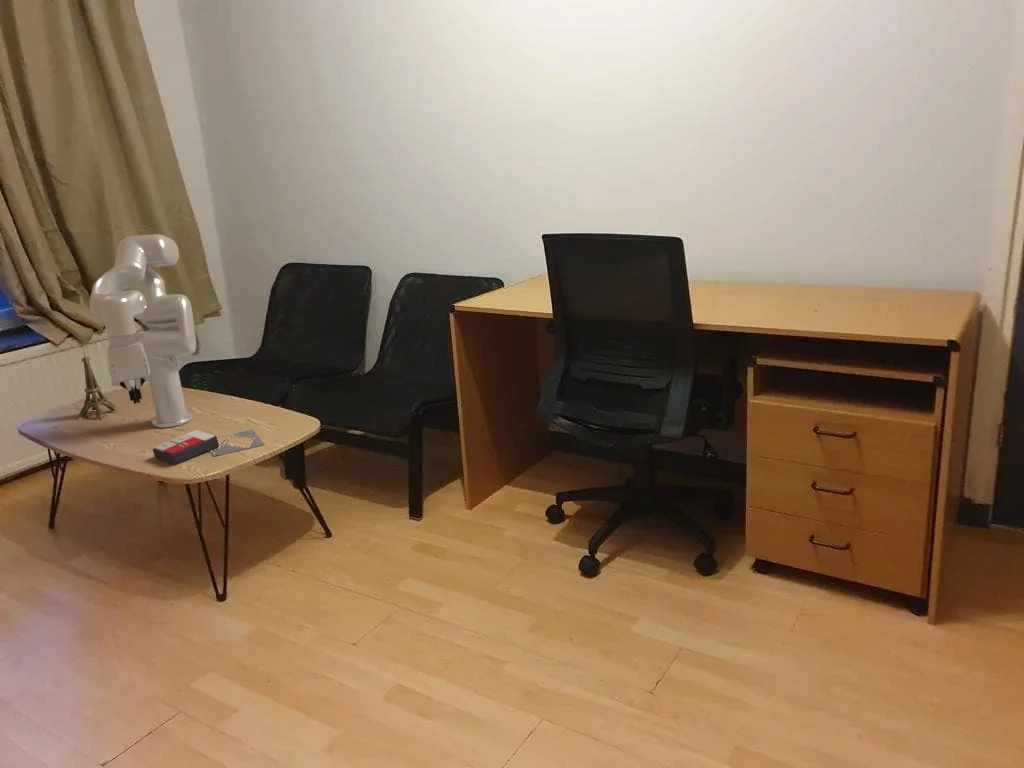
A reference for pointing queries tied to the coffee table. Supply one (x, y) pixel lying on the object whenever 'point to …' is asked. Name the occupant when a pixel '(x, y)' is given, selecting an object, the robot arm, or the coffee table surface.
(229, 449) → the desk mat
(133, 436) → the coffee table surface
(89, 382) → the eiffel tower
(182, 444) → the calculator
